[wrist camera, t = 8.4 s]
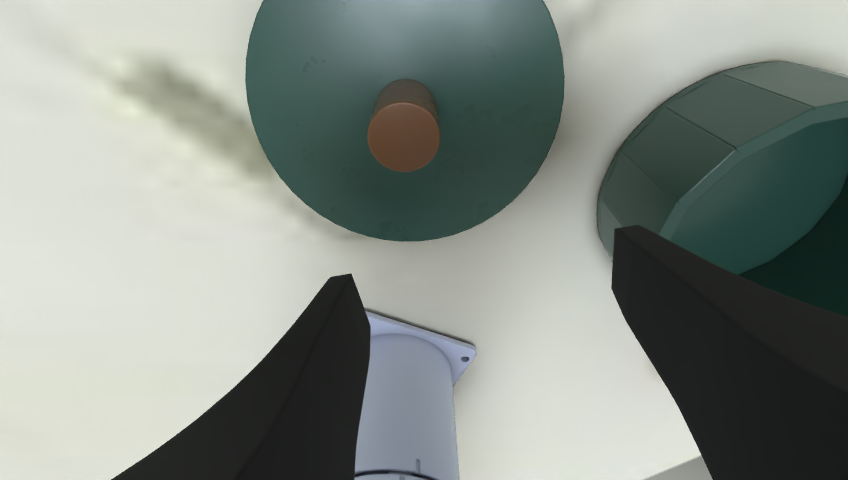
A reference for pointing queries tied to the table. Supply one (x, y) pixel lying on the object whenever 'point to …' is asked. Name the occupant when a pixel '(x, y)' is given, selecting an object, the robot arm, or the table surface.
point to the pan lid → (405, 107)
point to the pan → (745, 178)
